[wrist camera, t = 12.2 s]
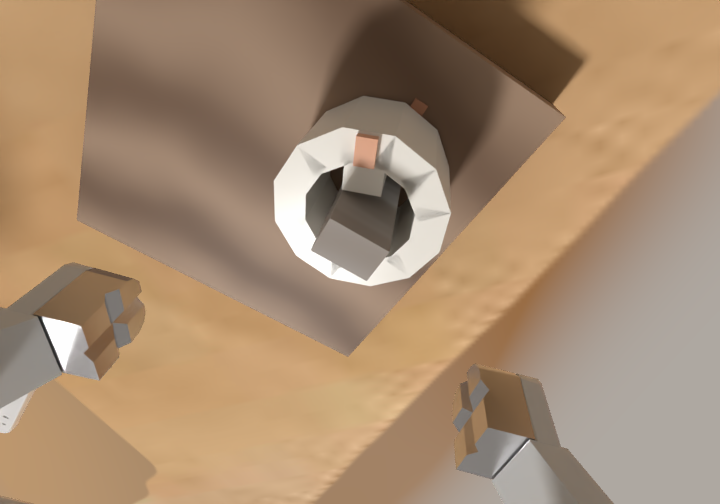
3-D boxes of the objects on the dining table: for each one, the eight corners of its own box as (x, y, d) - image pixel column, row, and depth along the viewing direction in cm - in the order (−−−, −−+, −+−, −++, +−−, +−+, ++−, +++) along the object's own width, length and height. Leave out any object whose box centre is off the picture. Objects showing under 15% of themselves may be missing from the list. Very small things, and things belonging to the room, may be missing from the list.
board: (353, 334, 26) (326, 446, 20) (101, 204, 23) (-26, 287, 17) (552, 104, 16) (630, 182, 10) (152, -178, 13) (-117, -335, 7)
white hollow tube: (428, 243, 19) (426, 302, 15) (303, 219, 19) (273, 271, 16) (463, 112, 15) (470, 152, 12) (306, 86, 15) (268, 117, 12)
